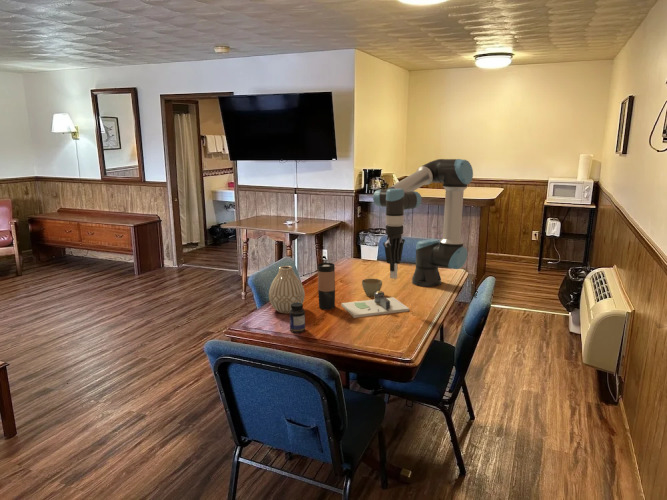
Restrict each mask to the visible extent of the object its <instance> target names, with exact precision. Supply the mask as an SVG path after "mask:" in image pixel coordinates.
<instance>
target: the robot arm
mask: <svg viewBox="0 0 667 500" xmlns="http://www.w3.org/2000/svg"><path fill="white" fill-rule="evenodd" d="M473 169H474V168H473V166H472V164H471V163H470V161H469V160H467V159H461V158H449V159H448V158H439V159H434V160H432V161H429V162H427V163H425V164H424V165H421V166H419V167H418V168H417V169H416V171H415V172H413V173H411V174H409V175H408V176H407V177H404V178H403V179H401V180H399V181H398V182H396V183H395V184H393V185H391V186H390V187H388V188H386V189H376V190H375V191H374V193H373V196H372V199H373V200H372V201H373V204H374V205H375V206H378V207H382V208H383V207H384V208H385V224H386V225H385V234H386V235H387V238H386V241H385V242H383V243H382V245H383V247H384V252H385V259H386V263H387V264H389V271H390V272H389V278H390V279H394V280H396V279H398V266H399V264H400V263H401V261H402V256H403V249H404V245H405V244H404V243H405V241H406V239H404V238H402V235H403V234H404V223H405V222H404V221H405V219H404V217H405V216H404V215H405V214H404V211H406V210H411V209H412V210H413V209H417V208H419V207H420V206H421V204H422V195H421V193H419V192H418V191H417V190H418V189H420V188H421V187H423V186H428V185H430V184H432V183H442V188H443V189H444V191H445V194H444V195H445V196H444V197H445V200H444V213H443V228H442V229H443V231H442V238H441V239H440V240H439V239H437V238H436V239H433V238H431V239H423V240H419V241H417V243H416V246H415V247H416V248H415V269H414V272H413V275H412V278H411V283H412V284H413V285H415V286H418V287H426V288H427V287H429V288H430V287H439V286H440V285H441V284H442V277H441V274H440V271H439V270H440V269H439V267H440V268H447V269H450V270H452V269H453V270H459V269H461V268H463V266H464V265H465V264H466V262H467V258H468V250H467V247H465V246H464V242H463V240H462V238H461V236H462V235H461V233H462V224H463V223H462V221H463V204H464V191H465V190H466V189H467V188H468V185H469V184H470V183H471V182H472V180H473V177H474V170H473Z"/></svg>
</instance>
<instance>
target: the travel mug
mask: <svg viewBox="0 0 667 500" xmlns="http://www.w3.org/2000/svg"><path fill="white" fill-rule="evenodd" d="M335 267H336V266H335V263H332V262H321V263H319V264H317V291H318V293H317V294H318V307H319V308H318V309H320V310H324V311H325V310H326V311H329V310H333V309H335V306H336V277H335V276H336V274H335V269H336V268H335Z"/></svg>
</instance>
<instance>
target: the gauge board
mask: <svg viewBox="0 0 667 500" xmlns="http://www.w3.org/2000/svg"><path fill="white" fill-rule="evenodd" d="M385 298H386V299H388V300H389V301H390V309H385V308H384V307H383V306H382V305H380V304H378V303H375V302H374V299H366V300H359V301H358V300H356V301H349V302H342V303H341V307H342V308H343V309H345V311H346V312H348V314H349V315H350V316H351V317H352V318H354V319H355V318H364V317H372V316H381V315H388V314H395V313H397V314H398V313H402V312H405V313H406V312H409V311H410V307H408V306H406V305H405V304H404V303H403V302H401V301H400V300H398V299H397V298H396V297H394V296H391V297H385Z"/></svg>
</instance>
